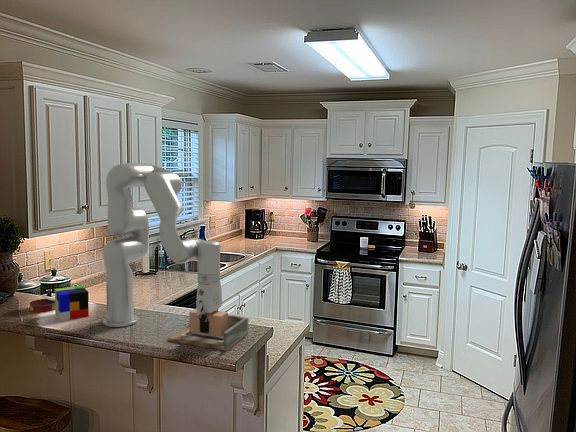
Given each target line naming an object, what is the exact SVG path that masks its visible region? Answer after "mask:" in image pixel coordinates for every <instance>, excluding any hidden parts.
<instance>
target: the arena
mask: <svg viewBox="0 0 576 432" xmlns="http://www.w3.org/2000/svg"><path fill="white" fill-rule="evenodd" d="M249 318H250V317H249V316H248V317H247V316H240V315H235V314H228V330H227V331H225V332H224V334H223V336H222V337H217V336H211V335H205V334H199V333H193V332H189V325H188V326H186V327H185V328H183V329H181V330H179V331H177V332H176V333H174V334H173V335H171V336H170V337H168V339H167V341H168V342H172V343H177V344H184V345H191V346H196V347H201V348H207V349H212V350H213V349H214V350H218V351H223V352H228V351H229V350H230V349H231V348H232V347H233V346H235V345H236V344H238V342H240V341H241V340H243V337H244V338H245V337H246V336H248V335H249Z"/></svg>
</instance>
